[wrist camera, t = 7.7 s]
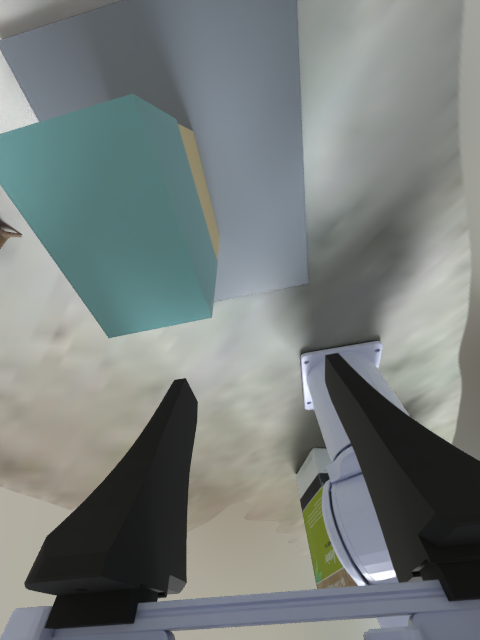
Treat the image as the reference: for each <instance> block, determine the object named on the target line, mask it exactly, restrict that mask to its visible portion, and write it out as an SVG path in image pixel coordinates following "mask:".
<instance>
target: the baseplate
mask: <svg viewBox="0 0 480 640" xmlns="http://www.w3.org/2000/svg"><path fill="white" fill-rule="evenodd" d="M0 50H1V52H2V54H3V56H4V57H5V59H6V61H7V63H8V65H9V67H10V68H11V70H12V72H13V74H14V76H15V78H16V80H17V81H18V83H19V85H20V87H21V89H22V91H23V93H24V94H25V96H26V98H27V100H28V102H29V104H30V106H31V107H32V109H33V111H34V113H35V115H36V117H37V119H38V120H39V122H41V121H45V120H48V119H51V118H54V117H58V116H61V115H64V114H68V113H71V112H74V111H77V110H81V109H84V108H87V107H90V106H94V105H97V104H100V103H104V102H107V101H110V100H113V99H117V98H120V97H123V96H126V95H130V94H135V95H136V96H138V97H140V98H141V99H143V100H145V101H147V102H148V103H150V104H152V105H153V106H155V107H157V108H158V109H160V110H162V111H164V112H165V113H167V114H169V115H170V116H172V117H174V118H176V119H177V123H178V124H180V125H182V126H184V127H186V128H188V129H189V130H191V131H193V132H194V136H195V140H196V144H197V148H198V152H199V156H200V160H201V164H202V168H203V172H204V176H205V180H206V184H207V188H208V192H209V196H210V200H211V204H212V208H213V212H214V216H215V220H216V224H217V228H218V232H219V236H220V243H219V251H218V259H217V262H218V267H217V276H216V285H215V294H214V302H217V301H222V300H228V299H233V298H238V297H243V296H248V295H253V294H258V293H263V292H269V291H274V290H279V289H284V288H289V287H294V286H299V285H304V284H308V264H307V240H306V216H305V191H304V167H303V142H302V118H301V93H300V69H299V44H298V20H297V0H122V1H119V2H116V3H113V4H109V5H106V6H103V7H100V8H97V9H94V10H91V11H88V12H85V13H82V14H79V15H76V16H73V17H70V18H67V19H63V20H60V21H57V22H54V23H51V24H48V25H45V26H42V27H39V28H36V29H33V30H30V31H27V32H24V33H21V34H17V35H14V36H11V37H8V38H5V39H2V40H0Z"/></svg>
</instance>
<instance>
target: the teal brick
mask: <svg viewBox="0 0 480 640" xmlns="http://www.w3.org/2000/svg"><path fill="white" fill-rule="evenodd" d="M0 185H1V186H2V188H3V189H4V191H5V192H6V193H7V195H8V196H9V198H10V199H11V200H12V202H13V203H14V205H15V206H16V207H17V209H18V210H19V212H20V213H21V215H22V216H23V217H24V219H25V220H26V222H27V223H28V224H29V226H30V227H31V229H32V230H33V232H34V233H35V234H36V236H37V237H38V239H39V240H40V241H41V243H42V244H43V246H44V247H45V249H46V250H47V251H48V253H49V254H50V256H51V257H52V258H53V260H54V261H55V263H56V264H57V265H58V267H59V268H60V270H61V271H62V273H63V274H64V275H65V277H66V278H67V280H68V281H69V282H70V284H71V285H72V287H73V288H74V290H75V291H76V292H77V294H78V295H79V297H80V298H81V299H82V301H83V302H84V304H85V305H86V306H87V308H88V309H89V311H90V312H91V314H92V315H93V316H94V318H95V319H96V321H97V322H98V323H99V325H100V326H101V328H102V329H103V331H104V332H105V333H106V335H107V336H108V338H112V337H117V336H122V335H127V334H132V333H137V332H142V331H147V330H152V329H157V328H162V327H167V326H172V325H177V324H182V323H187V322H192V321H197V320H202V319H207V318H212V311H213V303H214V294H215V285H216V276H217V267H218V262H217V259H216V255H215V252H214V248H213V245H212V241H211V238H210V234H209V231H208V227H207V224H206V220H205V217H204V213H203V210H202V206H201V203H200V199H199V196H198V193H197V189H196V186H195V182H194V179H193V175H192V172H191V168H190V165H189V161H188V158H187V154H186V151H185V147H184V144H183V140H182V137H181V133H180V130H179V126H178V123H177V119H176V118H174V117H172V116H170V115H169V114H167V113H165V112H164V111H162V110H160V109H158V108H157V107H155V106H153V105H152V104H150V103H148V102H147V101H145V100H143V99H141V98H140V97H138V96H136V95H135V94H130V95H126V96H123V97H120V98H117V99H113V100H110V101H107V102H104V103H100V104H97V105H94V106H90V107H87V108H84V109H81V110H77V111H74V112H71V113H68V114H64V115H61V116H58V117H54V118H51V119H48V120H45V121H41V122H38V123H35V124H32V125H28V126H25V127H22V128H19V129H15V130H12V131H9V132H5V133H2V134H0Z"/></svg>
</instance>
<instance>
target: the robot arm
mask: <svg viewBox="0 0 480 640" xmlns="http://www.w3.org/2000/svg"><path fill="white" fill-rule="evenodd" d="M382 348H383V344H382V343H381V342H380V341H373V342H368V343H362V344H356V345H350V346H344V347H338V348H332V349H326V350H320V351H314V352H308V353H304V354H302V355H301V370H302V382H303V395H304V407H305V409H306V410H313V409H314V411H315V414H316V417H317V420H318V423H319V427H320V430H321V433H322V436H323V439H324V442H325V445H326V448H327V451H328V454H329V457H330V459H331V461H332V462H333V463H331V464H329V465H327V466H326V468H327V471H328V475H329V478H330V480H328V481H327V482H326V483H325V484H324V487H323V493H322V513H323V518H324V523H325V527H326V530H327V533H328V536H329V539H330V542H331V544H332V547H333V549H334V551H335V553H336V555H337V557H338V559H339V560H340V562H341V564H342V565H343V567H344V568H345V570H346V571H347V572H348V573H349V575H350V576H351V577H352V578H353V580H354V581H355V582H356V584H357V585H358V586H352V587H339V588H326V589H313V590H301V591H288V592H275V593H263V594H250V595H237V596H224V597H212V598H198V599H187V600H174V601H160V602H157V599H158V598H166V596H167V594H178V593H180V592H181V591H182V589H183V588H184V586H185V585H186V583H187V581H186V580H187V579H186V538H187V505H188V486H189V472H190V464H191V458H192V451H193V445H194V438H195V432H196V425H197V405H198V402H197V400H196V398H195V396H194V394H193V392H192V390H191V388H190V386H189V384H188V382H187V380H186V378H184V379H178V380H174V382H173V383H172V385H171V387H170V388H169V390H168V392H167V393H166V395H165V397H164V398H163V400H162V402H161V403H160V405H159V407H158V408H157V410H156V412H155V413H154V415H153V416H152V418H151V420H150V421H149V423H148V424H147V426H146V427H145V429H144V430H143V431H142V433H141V434H140V436H139V437H138V439H137V440H136V441H135V443H134V444H133V446H132V447H131V448H130V449H129V451H128V452H127V453H126V455H125V456H124V457H123V458H122V460H121V461H120V462H119V463H118V464H117V466H116V467H115V468H114V469H113V470H112V471H111V473H110V474H109V475H108V476H107V477H106V478H105V480H104V481H103V482H102V483H101V484H100V485H99V486H98V487H97V488H96V489H95V490H94V491H93V492H92V493H91V494H90V496H89V497H88V498H87V499H86V500H85V501H84V502H83V503H82V504H81V505H80V506H79V507H78V508H77V509H76V510H75V511H74V512H73V513H71V514H70V515H69V516H68V517H67V518H66V519H65V520H64V521H63V522H62V523H61V524H60V525H59V526H58V527H57V528H55V530H53V531H52V532H51V533H50V534H49V535H48V536H47V537H46V539H45V541H44V543H43V545H42V547H41V550H40V552H39V554H38V556H37V558H36V560H35V562H34V564H33V566H32V568H31V570H30V573H29V575H28V577H27V579H26V581H25V587H26V588H27V589H29V590H33V591H37V592H42V593H47V594H52V595H57V597H56V599H55V602H54V604H53V607H52V606H40V607H28V608H17V609H15V610H14V611H13V613H12V615H11V617H10V619H9V621H8V623H7V626H6V628H5V630H4V632H3V634H2V636H1V638H0V640H175V637H174V634H173V633H172V632H171V631H180V630H195V629H210V628H225V627H241V626H255V625H271V624H285V623H301V622H316V621H331V620H346V619H362V618H377V620H378V622H379V624H380V626H381V628H380V629H370V630H369V631H368V632H365V633H364V635H363V636H364V640H480V461H478V460H477V459H475V458H473V457H472V456H470V455H468V454H466V453H464V452H463V451H461V450H460V449H458V448H456V447H455V446H453V445H452V444H450V443H449V442H447V441H445V440H444V439H442V438H441V437H439V436H438V435H436V434H434V433H433V432H431V431H430V430H428V429H427V428H425V427H424V426H422V425H421V424H419V423H418V422H417V421H415V420H414V419H412V418H411V417H410V415H409V414H408V413H407V411H406V410H405V408H404V407H403V405H402V404H401V402H400V401H399V399H398V398H397V396H396V395H395V393H394V392H393V390H392V389H391V387H390V386H389V384H388V383H387V381H386V380H385V379H384V377H383V376H382V374H381V373H380V371H379V370H378V368H379V363H380V358H381V353H382Z"/></svg>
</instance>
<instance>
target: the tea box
mask: <svg viewBox="0 0 480 640" xmlns="http://www.w3.org/2000/svg"><path fill="white" fill-rule="evenodd" d="M331 463H333V462H332V461H331V459H330V457H329V454H328V451H327V449H326V448H312V450H311V452H310V453H309V455H308V456H307V458H306V460H305V461H304V463H303V465H302V466H301V468H300V470H299V471H298V473H297V475H296V480H297V485H298V491H299V496H300V502H301V507H302V512H303V518H304V523H305V528H306V533H307V538H308V544H309V549H310V554H311V559H312V564H313V569H314V575H315V580H316V585H317V589H326V588H339V587H352V586H358V585H357V584H356V582H355V581H354V580H353V578H352V577H351V576H350V575H349V573H348V572H347V571H346V570H345V568H344V567H343V565H342V564H341V562H340V560H339V559H338V557H337V555H336V553H335V551H334V549H333V547H332V544H331V542H330V539H329V536H328V533H327V530H326V527H325V523H324V518H323V513H322V493H323V487H324V484H325V483H326V482H327V481H328V480H330V478H329V475H328V471H327V468H326V466H327V465H329V464H331Z"/></svg>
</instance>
